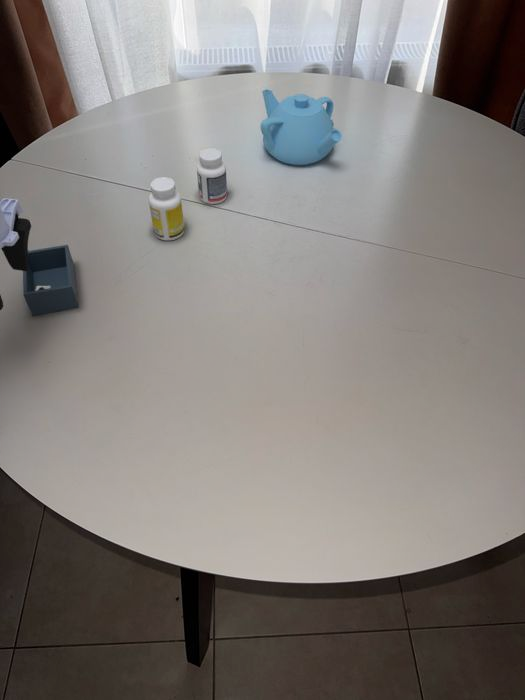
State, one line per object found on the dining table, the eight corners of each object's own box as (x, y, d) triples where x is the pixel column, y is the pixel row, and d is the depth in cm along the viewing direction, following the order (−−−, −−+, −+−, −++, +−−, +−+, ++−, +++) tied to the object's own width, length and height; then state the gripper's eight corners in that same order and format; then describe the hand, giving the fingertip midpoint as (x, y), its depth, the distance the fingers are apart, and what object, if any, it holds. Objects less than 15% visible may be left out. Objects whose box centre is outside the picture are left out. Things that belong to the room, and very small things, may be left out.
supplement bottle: (187, 223, 104) (182, 175, 96) (181, 242, 100) (175, 194, 93) (157, 221, 104) (150, 173, 97) (150, 240, 101) (142, 192, 93)
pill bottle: (232, 193, 110) (231, 151, 103) (217, 208, 107) (215, 165, 100) (209, 185, 112) (206, 143, 105) (193, 199, 109) (189, 156, 102)
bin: (78, 307, 90) (71, 286, 87) (32, 315, 89) (23, 294, 85) (74, 265, 96) (67, 244, 93) (30, 272, 95) (22, 251, 92)
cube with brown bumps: (37, 306, 89) (33, 294, 88) (40, 296, 91) (36, 284, 89) (51, 305, 90) (47, 293, 88) (54, 296, 91) (50, 284, 89)
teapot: (259, 173, 114) (260, 119, 106) (261, 128, 125) (262, 75, 117) (337, 175, 114) (344, 121, 106) (332, 130, 125) (338, 78, 117)
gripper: (-28, 246, 63) (11, 331, 73) (30, 172, 72) (58, 256, 82) (-88, 238, 63) (-41, 323, 74) (-23, 166, 73) (11, 250, 83)
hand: (8, 287), depth 78 cm, fingers open, 7 cm apart
